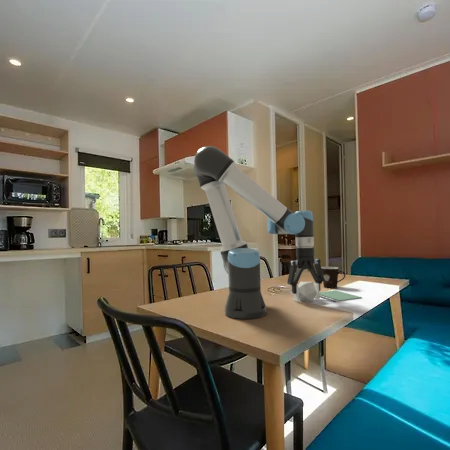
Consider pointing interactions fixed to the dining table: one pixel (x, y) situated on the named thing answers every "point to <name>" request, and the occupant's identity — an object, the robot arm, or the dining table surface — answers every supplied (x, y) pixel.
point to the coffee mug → (331, 277)
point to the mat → (338, 295)
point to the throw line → (328, 299)
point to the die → (307, 291)
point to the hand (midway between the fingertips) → (306, 299)
